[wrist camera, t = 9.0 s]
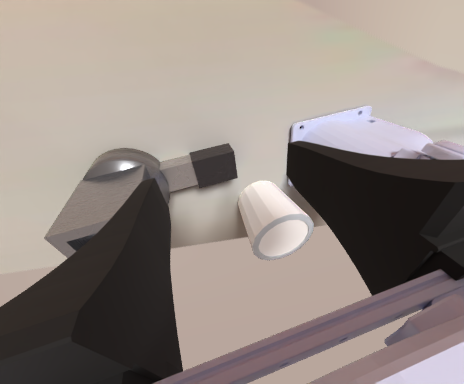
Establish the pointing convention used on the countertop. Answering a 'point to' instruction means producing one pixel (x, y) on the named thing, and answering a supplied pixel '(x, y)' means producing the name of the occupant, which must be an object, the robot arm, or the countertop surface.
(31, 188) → the countertop surface
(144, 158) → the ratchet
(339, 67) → the countertop surface
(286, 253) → the shot glass
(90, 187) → the socket
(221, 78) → the countertop surface
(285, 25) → the countertop surface
